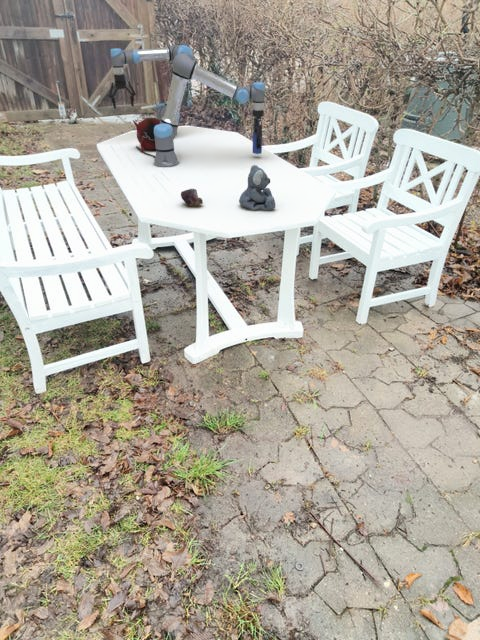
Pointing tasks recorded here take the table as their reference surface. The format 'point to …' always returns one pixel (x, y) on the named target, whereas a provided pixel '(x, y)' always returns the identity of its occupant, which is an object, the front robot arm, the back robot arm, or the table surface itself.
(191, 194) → the rock
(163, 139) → the front robot arm
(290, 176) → the table surface
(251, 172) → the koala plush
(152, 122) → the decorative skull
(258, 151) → the can
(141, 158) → the table surface
